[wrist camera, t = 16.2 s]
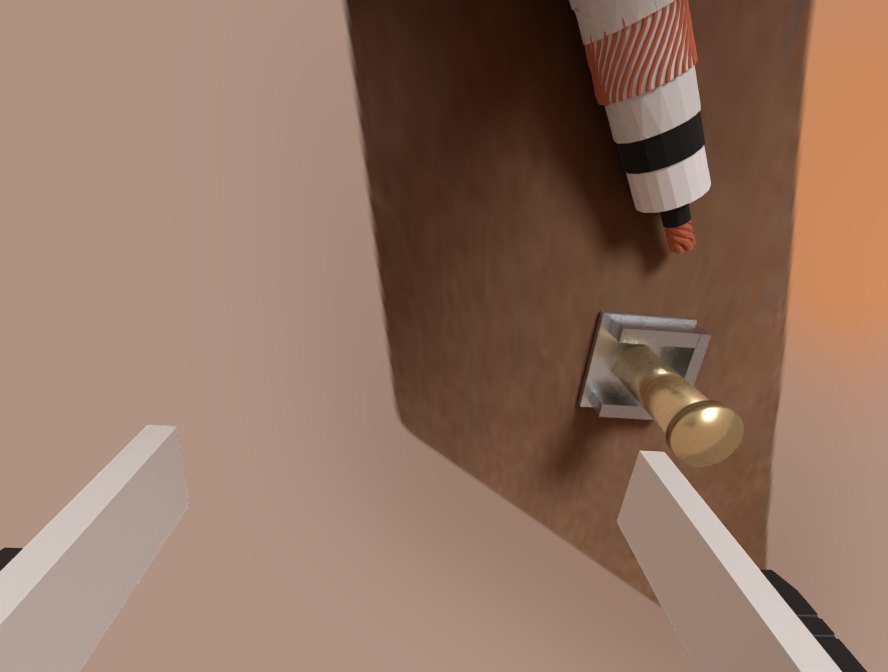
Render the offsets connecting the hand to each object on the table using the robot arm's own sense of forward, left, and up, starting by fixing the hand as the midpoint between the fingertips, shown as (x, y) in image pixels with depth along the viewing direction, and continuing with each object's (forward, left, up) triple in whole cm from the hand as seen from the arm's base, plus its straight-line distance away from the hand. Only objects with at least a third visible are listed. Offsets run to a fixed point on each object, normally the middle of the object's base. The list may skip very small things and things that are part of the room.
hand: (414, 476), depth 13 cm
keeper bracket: (+10, +24, -32) cm, 41 cm away
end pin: (+10, +24, -31) cm, 40 cm away
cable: (-17, +15, -32) cm, 40 cm away
